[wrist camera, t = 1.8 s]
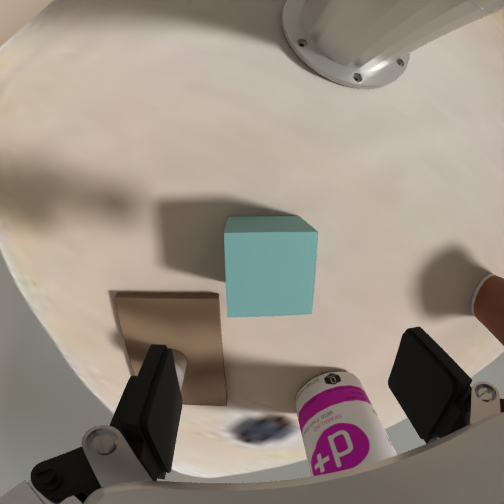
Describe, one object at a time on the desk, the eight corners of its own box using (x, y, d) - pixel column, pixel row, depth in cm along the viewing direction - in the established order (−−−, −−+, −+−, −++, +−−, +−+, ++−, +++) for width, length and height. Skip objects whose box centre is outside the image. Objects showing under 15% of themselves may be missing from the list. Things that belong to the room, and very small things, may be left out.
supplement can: (281, 391, 29) (302, 504, 15) (344, 355, 28) (398, 463, 14) (311, 421, 32) (336, 515, 17) (366, 391, 31) (411, 481, 16)
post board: (117, 293, 25) (94, 320, 20) (218, 293, 25) (214, 325, 20) (145, 395, 29) (134, 428, 24) (226, 399, 29) (226, 435, 24)
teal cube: (227, 216, 23) (224, 232, 18) (298, 215, 24) (317, 231, 18) (229, 283, 25) (227, 317, 19) (296, 281, 25) (311, 313, 20)
